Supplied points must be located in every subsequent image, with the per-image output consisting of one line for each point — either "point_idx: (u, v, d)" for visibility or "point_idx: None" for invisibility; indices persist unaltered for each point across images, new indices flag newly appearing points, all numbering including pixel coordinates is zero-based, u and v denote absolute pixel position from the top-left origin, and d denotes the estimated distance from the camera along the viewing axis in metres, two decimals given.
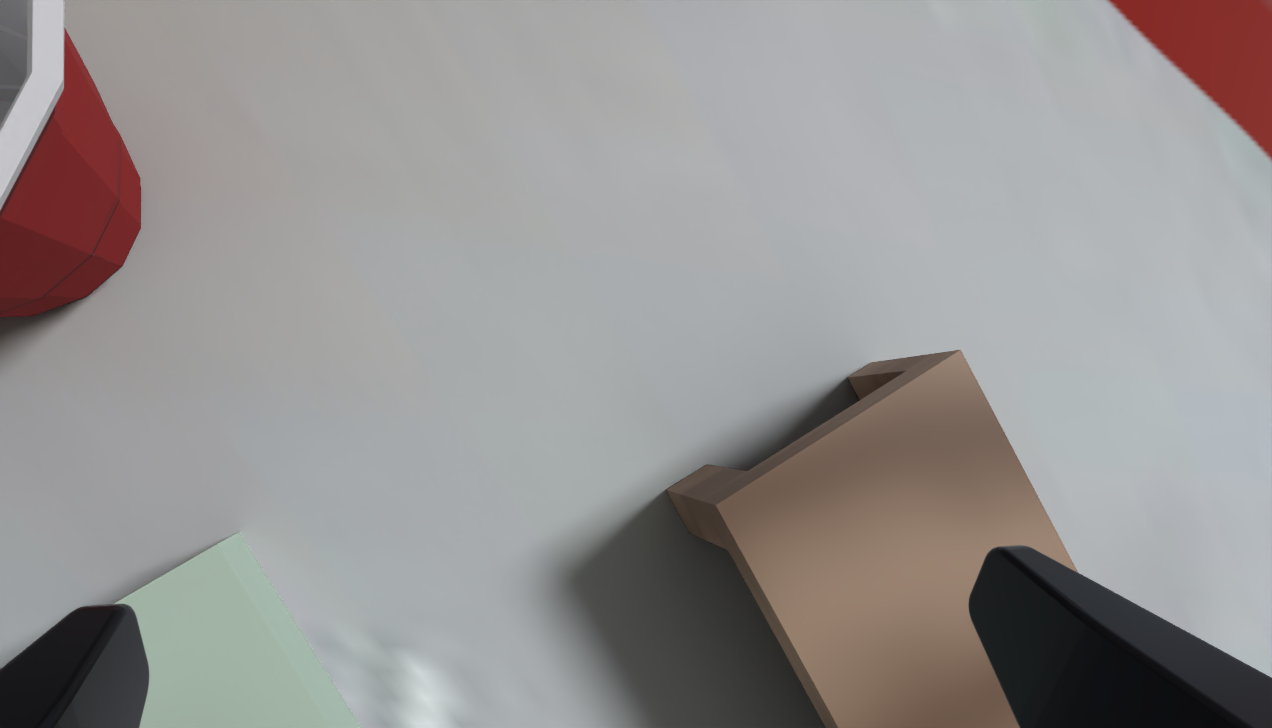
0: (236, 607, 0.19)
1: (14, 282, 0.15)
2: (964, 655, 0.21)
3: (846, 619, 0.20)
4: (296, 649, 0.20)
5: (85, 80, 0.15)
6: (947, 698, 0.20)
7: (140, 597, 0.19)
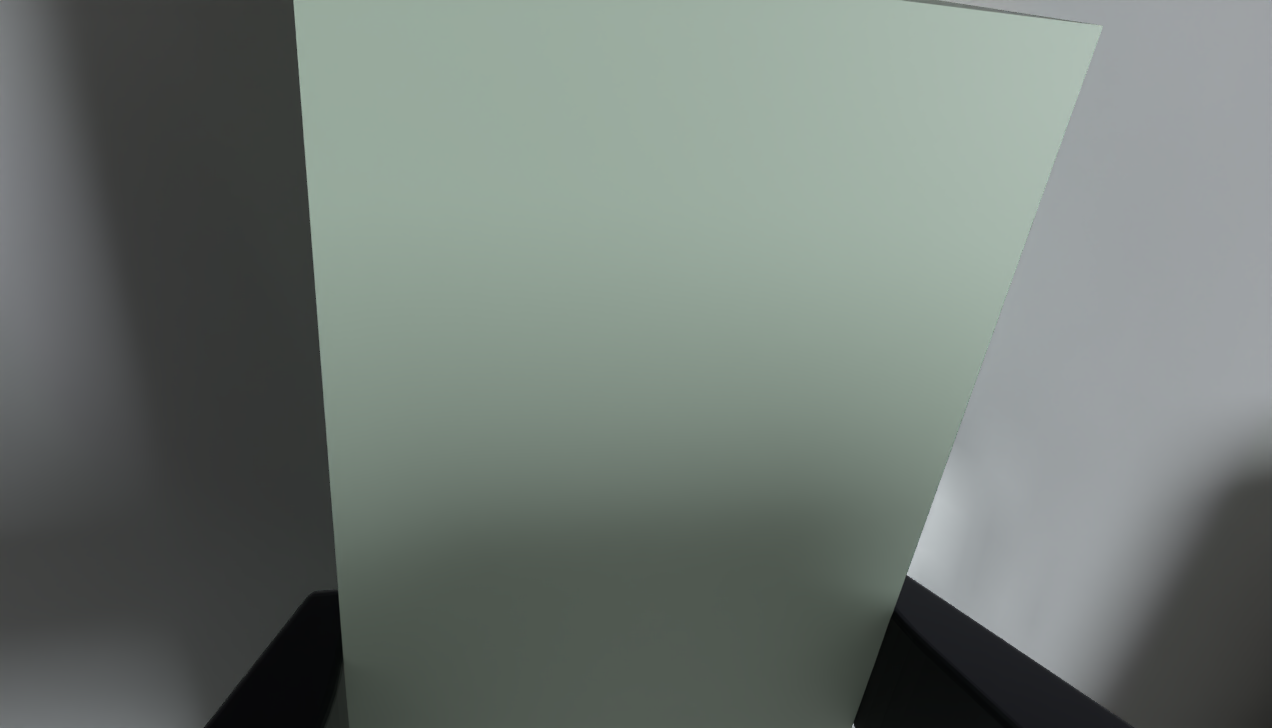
0: (982, 246, 0.06)
1: None
2: None
3: None
4: None
5: None
6: None
7: (824, 23, 0.05)
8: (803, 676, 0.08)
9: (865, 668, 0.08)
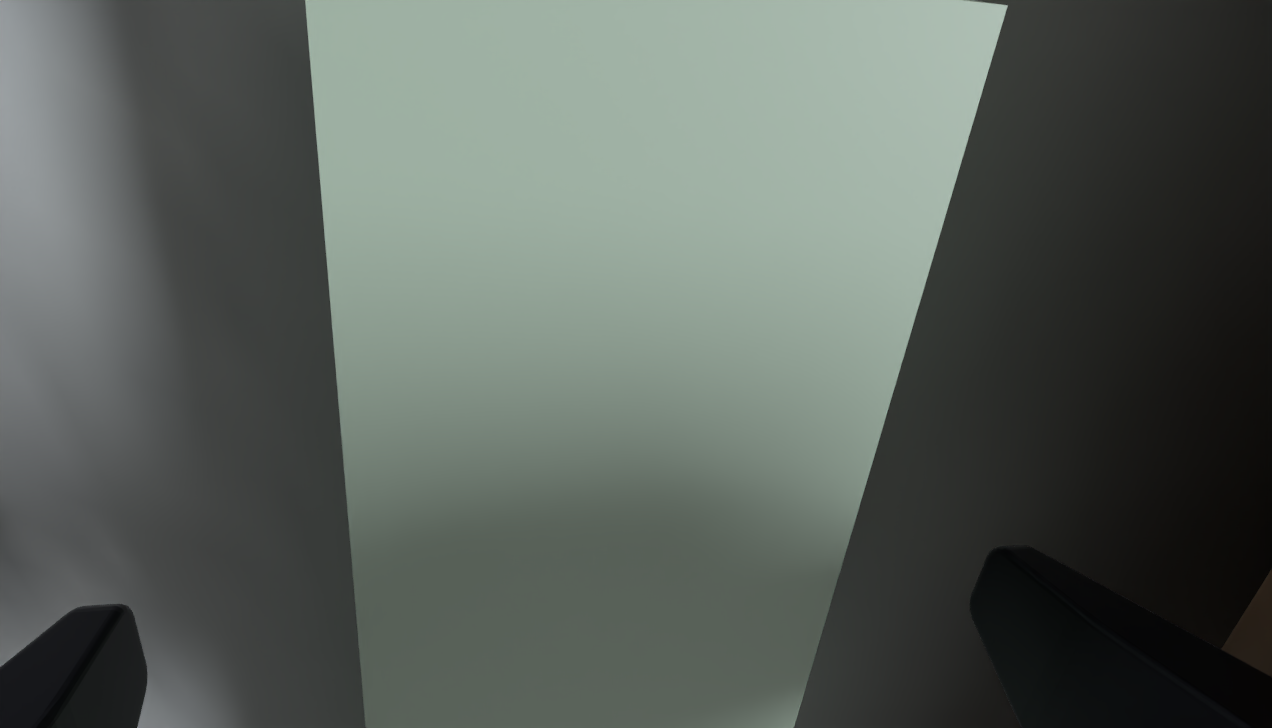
0: (911, 202, 0.07)
1: None
2: None
3: None
4: None
5: None
6: None
7: (758, 6, 0.06)
8: (769, 602, 0.09)
9: (826, 596, 0.09)
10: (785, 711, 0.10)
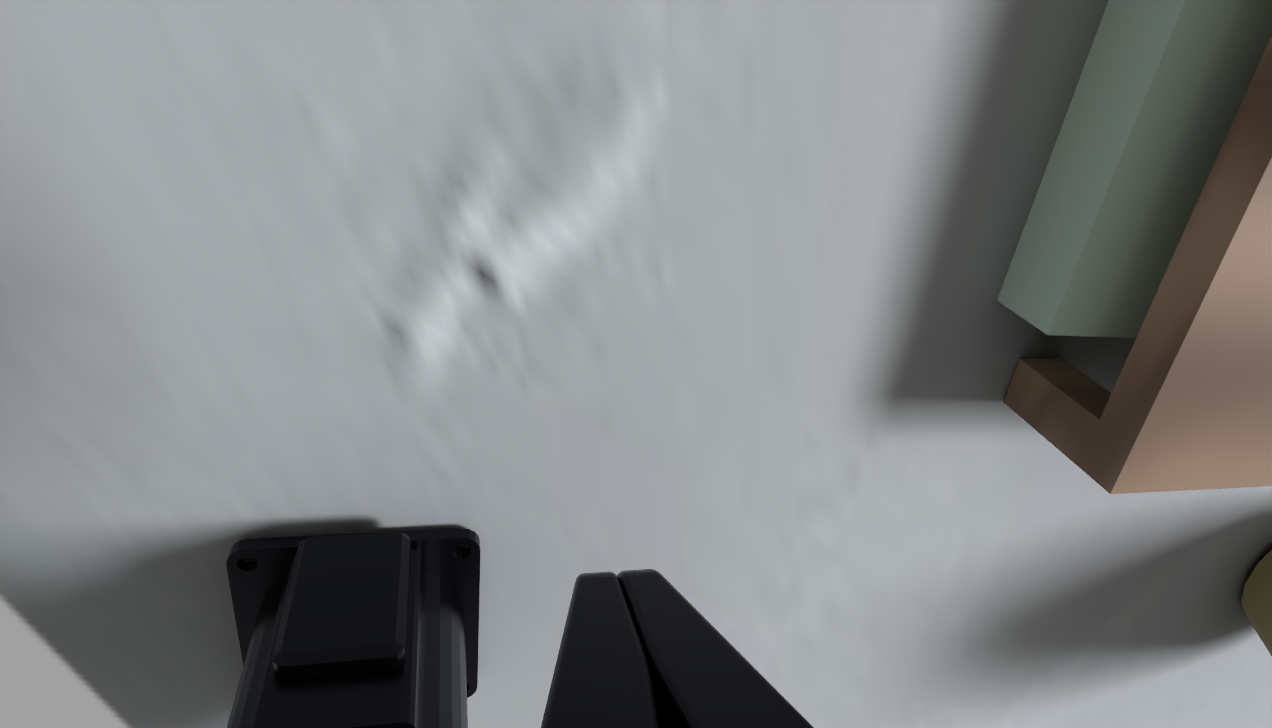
0: None
1: None
2: None
3: None
4: None
5: None
6: None
7: None
8: None
9: None
10: None
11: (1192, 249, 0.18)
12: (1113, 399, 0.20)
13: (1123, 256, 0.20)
